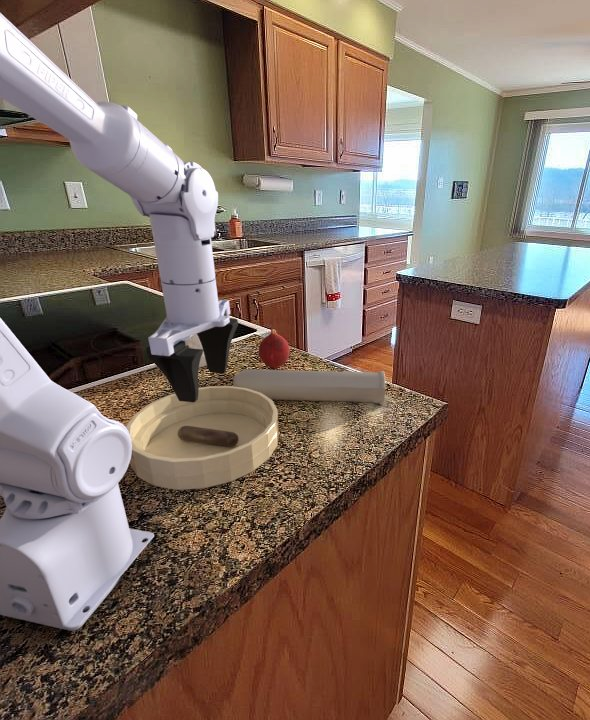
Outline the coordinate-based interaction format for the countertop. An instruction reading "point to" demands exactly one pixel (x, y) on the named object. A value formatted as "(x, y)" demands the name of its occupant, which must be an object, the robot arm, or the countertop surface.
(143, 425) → the bowl
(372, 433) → the countertop surface
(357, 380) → the tube
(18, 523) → the robot arm
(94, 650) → the countertop surface
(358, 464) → the countertop surface
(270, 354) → the onion
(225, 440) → the stick
